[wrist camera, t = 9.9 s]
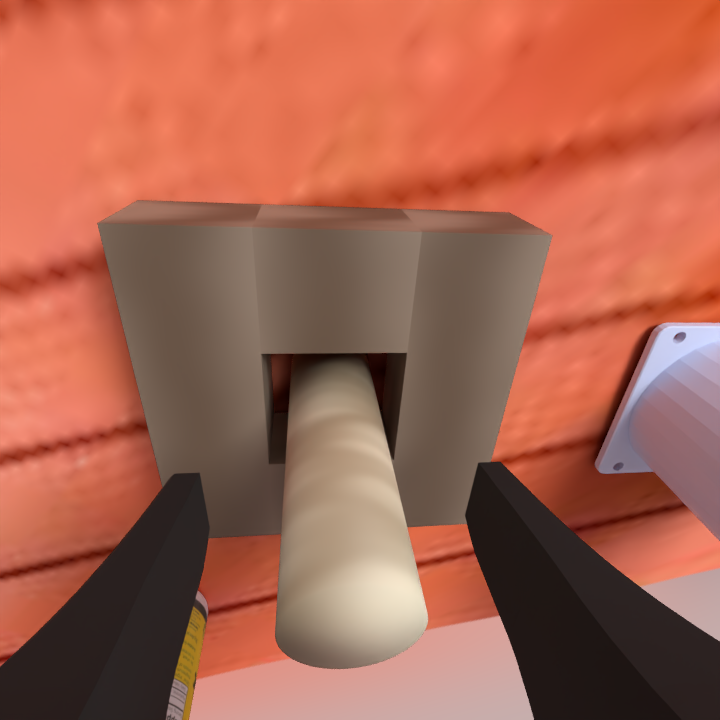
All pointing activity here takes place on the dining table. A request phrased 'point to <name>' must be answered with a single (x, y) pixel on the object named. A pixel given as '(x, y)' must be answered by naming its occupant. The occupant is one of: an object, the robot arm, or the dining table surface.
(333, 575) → the beech peg
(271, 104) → the dining table surface
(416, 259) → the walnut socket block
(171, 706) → the supplement bottle
